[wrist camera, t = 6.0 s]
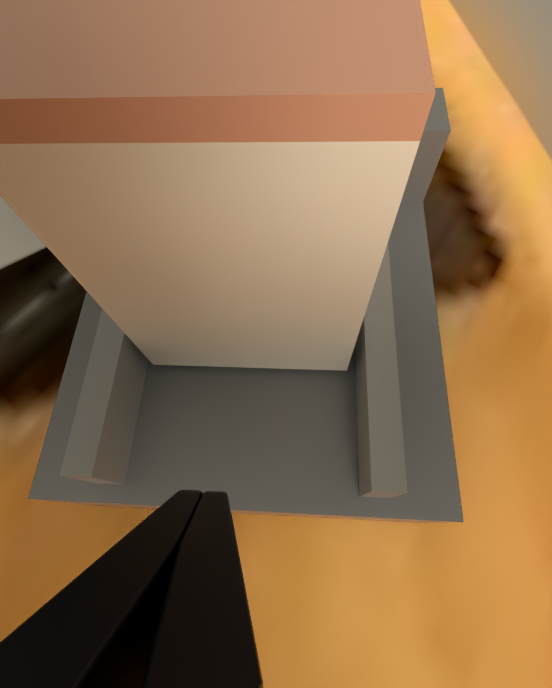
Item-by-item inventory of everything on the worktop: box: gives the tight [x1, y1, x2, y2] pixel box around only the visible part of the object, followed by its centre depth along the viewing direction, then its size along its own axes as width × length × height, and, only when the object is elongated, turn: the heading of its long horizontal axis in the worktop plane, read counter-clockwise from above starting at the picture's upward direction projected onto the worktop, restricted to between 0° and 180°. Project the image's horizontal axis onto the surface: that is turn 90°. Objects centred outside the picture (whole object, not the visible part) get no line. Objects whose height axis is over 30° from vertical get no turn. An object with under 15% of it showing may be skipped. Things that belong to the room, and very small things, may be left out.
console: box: [28, 88, 463, 523], centre depth 14 cm, size 14×12×7 cm
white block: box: [0, 0, 436, 371], centre depth 9 cm, size 5×6×9 cm
